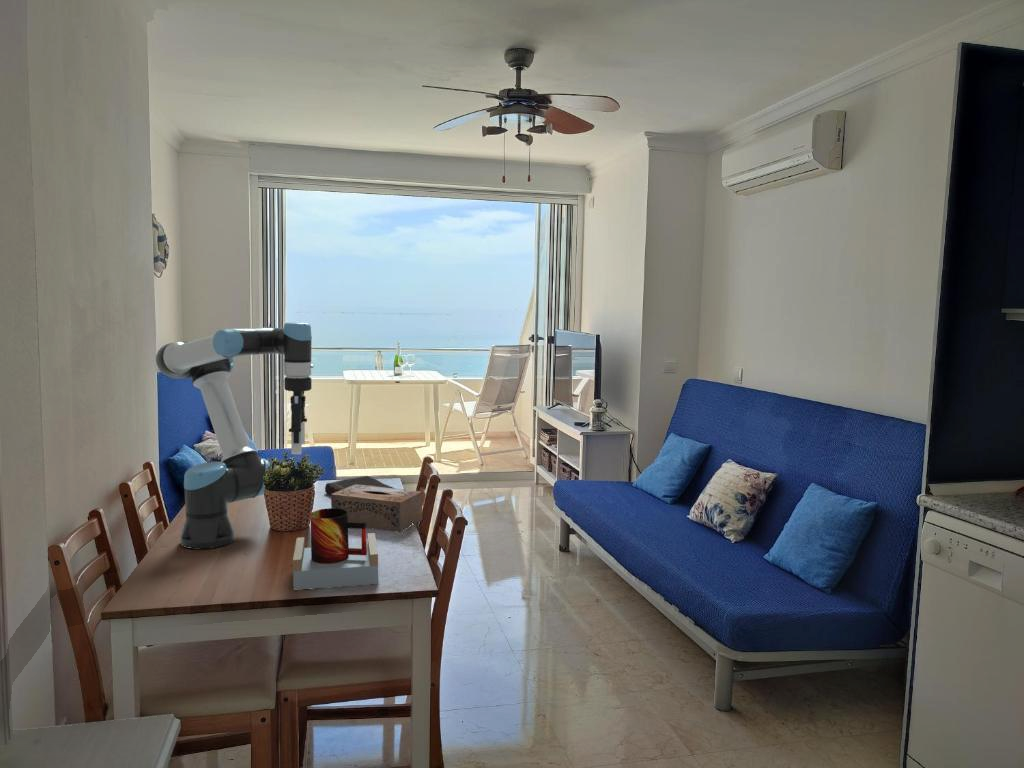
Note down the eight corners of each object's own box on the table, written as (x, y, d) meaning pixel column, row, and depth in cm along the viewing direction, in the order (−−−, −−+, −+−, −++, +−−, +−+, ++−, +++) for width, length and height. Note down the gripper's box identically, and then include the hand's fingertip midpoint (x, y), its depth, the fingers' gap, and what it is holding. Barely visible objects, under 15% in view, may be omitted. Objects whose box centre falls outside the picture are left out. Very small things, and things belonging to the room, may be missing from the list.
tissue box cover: (422, 520, 248) (422, 491, 246) (400, 533, 234) (400, 502, 233) (355, 512, 257) (355, 484, 256) (331, 523, 243) (331, 494, 242)
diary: (354, 510, 261) (353, 496, 260) (325, 495, 281) (324, 482, 280) (400, 501, 272) (400, 487, 272) (369, 487, 292) (369, 475, 291)
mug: (367, 559, 194) (366, 515, 193) (312, 565, 190) (311, 520, 188) (361, 548, 203) (361, 505, 202) (309, 553, 199) (308, 510, 198)
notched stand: (293, 590, 186) (292, 559, 185) (297, 566, 203) (296, 537, 203) (378, 584, 191) (377, 554, 190) (375, 560, 208) (374, 532, 207)
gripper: (308, 382, 201) (309, 458, 204) (313, 371, 225) (313, 440, 228) (280, 381, 199) (280, 459, 202) (288, 371, 224) (288, 440, 226)
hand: (298, 449), depth 215 cm, fingers open, 13 cm apart
